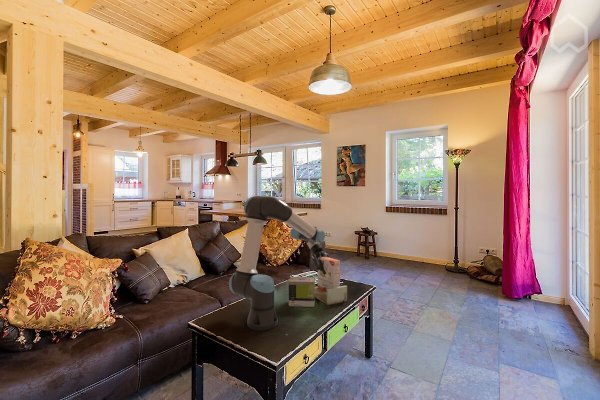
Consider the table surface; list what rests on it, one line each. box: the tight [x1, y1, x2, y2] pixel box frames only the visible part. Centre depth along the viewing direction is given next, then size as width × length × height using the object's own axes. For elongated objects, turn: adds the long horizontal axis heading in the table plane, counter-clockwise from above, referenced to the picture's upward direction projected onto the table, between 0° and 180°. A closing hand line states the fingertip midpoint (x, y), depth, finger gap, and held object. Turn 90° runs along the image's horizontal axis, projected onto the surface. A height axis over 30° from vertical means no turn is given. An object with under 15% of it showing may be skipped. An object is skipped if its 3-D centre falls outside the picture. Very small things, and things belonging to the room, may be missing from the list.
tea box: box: [288, 276, 316, 308], centre depth 173 cm, size 15×10×15 cm, turn 84°
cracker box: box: [317, 257, 341, 293], centre depth 183 cm, size 14×6×21 cm, turn 41°
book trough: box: [315, 285, 348, 306], centre depth 182 cm, size 14×17×9 cm
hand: (332, 277), depth 180 cm, fingers closed on cracker box, 6 cm apart
